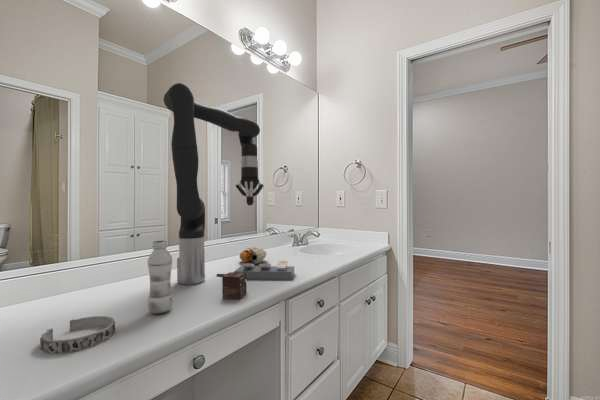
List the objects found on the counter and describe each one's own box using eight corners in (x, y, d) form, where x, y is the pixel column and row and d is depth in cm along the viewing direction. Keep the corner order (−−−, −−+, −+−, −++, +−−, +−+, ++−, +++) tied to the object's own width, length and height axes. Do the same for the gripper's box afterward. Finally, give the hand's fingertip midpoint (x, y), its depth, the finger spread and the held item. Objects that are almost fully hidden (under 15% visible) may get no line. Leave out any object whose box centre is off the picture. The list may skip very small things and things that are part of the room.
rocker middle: (258, 268, 114) (259, 263, 115) (262, 268, 120) (262, 263, 121) (267, 268, 114) (268, 263, 115) (270, 268, 120) (270, 263, 120)
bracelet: (35, 363, 57) (35, 348, 57) (44, 337, 68) (44, 324, 68) (117, 342, 65) (117, 328, 65) (113, 322, 76) (113, 310, 76)
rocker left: (241, 267, 115) (241, 263, 116) (245, 268, 121) (246, 263, 121) (250, 267, 115) (250, 263, 115) (254, 268, 121) (254, 263, 121)
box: (239, 300, 90) (239, 276, 90) (222, 299, 92) (221, 276, 92) (247, 293, 96) (246, 272, 96) (230, 293, 98) (229, 271, 98)
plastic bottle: (166, 306, 86) (165, 239, 86) (177, 311, 82) (176, 241, 82) (143, 312, 81) (142, 241, 81) (154, 318, 77) (153, 243, 77)
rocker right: (276, 271, 114) (276, 267, 114) (278, 264, 120) (278, 260, 120) (285, 271, 114) (285, 267, 114) (287, 264, 120) (287, 260, 119)
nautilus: (252, 271, 129) (224, 270, 134) (273, 258, 149) (247, 258, 154) (251, 253, 129) (222, 253, 134) (271, 243, 149) (246, 244, 154)
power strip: (212, 279, 115) (212, 271, 115) (220, 273, 124) (220, 265, 124) (291, 280, 112) (291, 271, 112) (294, 274, 121) (294, 266, 121)
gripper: (232, 166, 127) (233, 205, 127) (262, 165, 126) (262, 205, 126) (237, 168, 134) (238, 205, 135) (265, 167, 133) (266, 204, 133)
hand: (250, 205), depth 130 cm, fingers closed
